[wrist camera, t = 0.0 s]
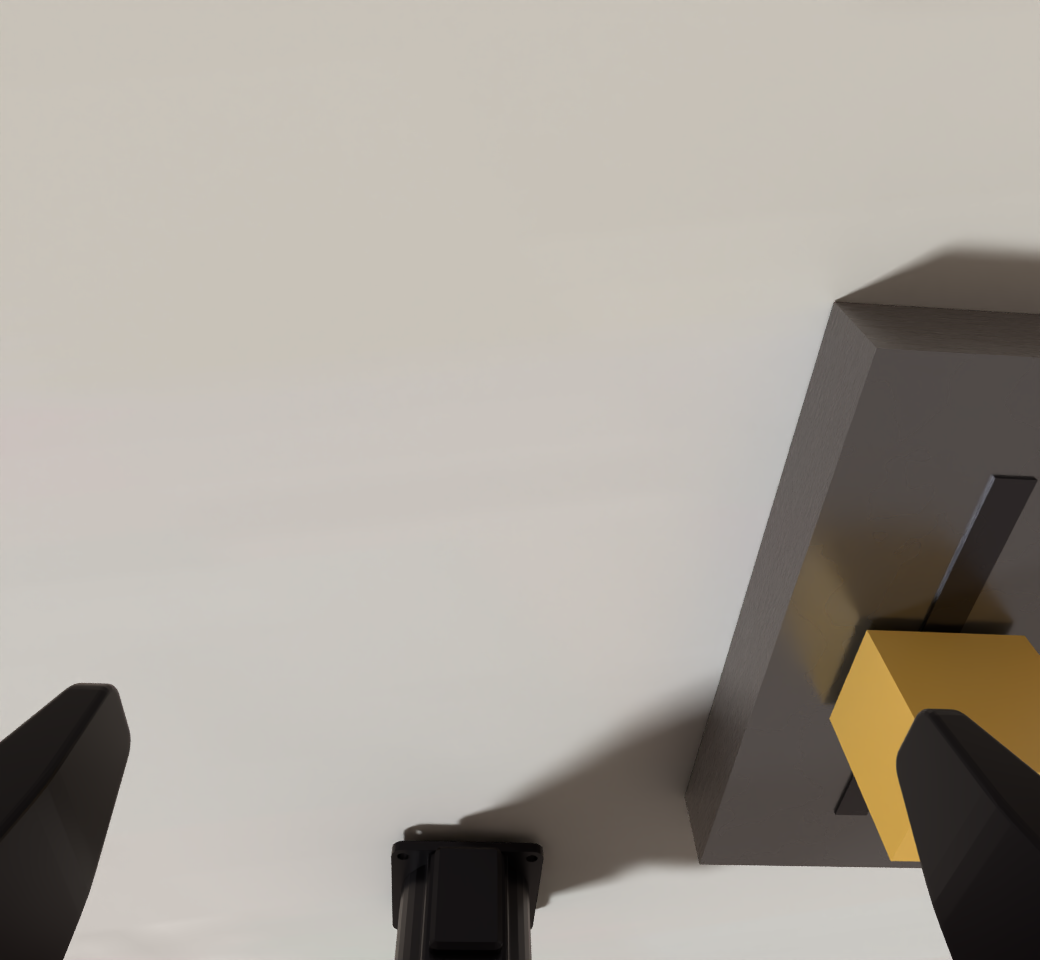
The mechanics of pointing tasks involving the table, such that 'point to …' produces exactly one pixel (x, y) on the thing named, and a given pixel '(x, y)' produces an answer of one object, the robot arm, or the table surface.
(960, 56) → the table surface
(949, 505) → the power box
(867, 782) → the handle
